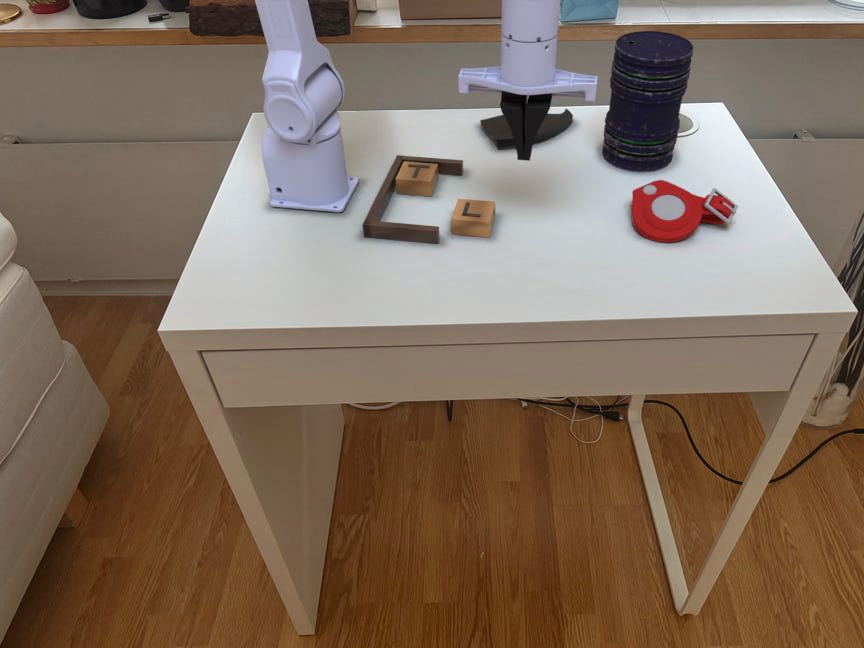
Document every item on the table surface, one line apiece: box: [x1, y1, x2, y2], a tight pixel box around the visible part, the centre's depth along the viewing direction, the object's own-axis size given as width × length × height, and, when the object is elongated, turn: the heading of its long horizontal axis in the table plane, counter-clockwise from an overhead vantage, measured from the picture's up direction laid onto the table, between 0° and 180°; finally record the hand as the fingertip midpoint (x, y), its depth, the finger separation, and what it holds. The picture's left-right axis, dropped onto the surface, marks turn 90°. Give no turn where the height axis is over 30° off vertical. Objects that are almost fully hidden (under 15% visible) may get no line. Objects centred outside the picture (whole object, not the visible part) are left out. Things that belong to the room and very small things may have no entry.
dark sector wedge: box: [480, 108, 574, 151], centre depth 107 cm, size 8×14×2 cm, turn 107°
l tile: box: [450, 198, 496, 239], centre depth 89 cm, size 5×5×2 cm
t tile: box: [395, 161, 439, 197], centre depth 95 cm, size 5×5×2 cm
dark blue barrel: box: [601, 30, 695, 173], centre depth 97 cm, size 10×10×15 cm
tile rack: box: [362, 154, 464, 245], centre depth 92 cm, size 9×17×2 cm, turn 171°
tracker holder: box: [630, 179, 739, 243], centre depth 89 cm, size 12×4×10 cm
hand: (524, 156), depth 83 cm, fingers closed
